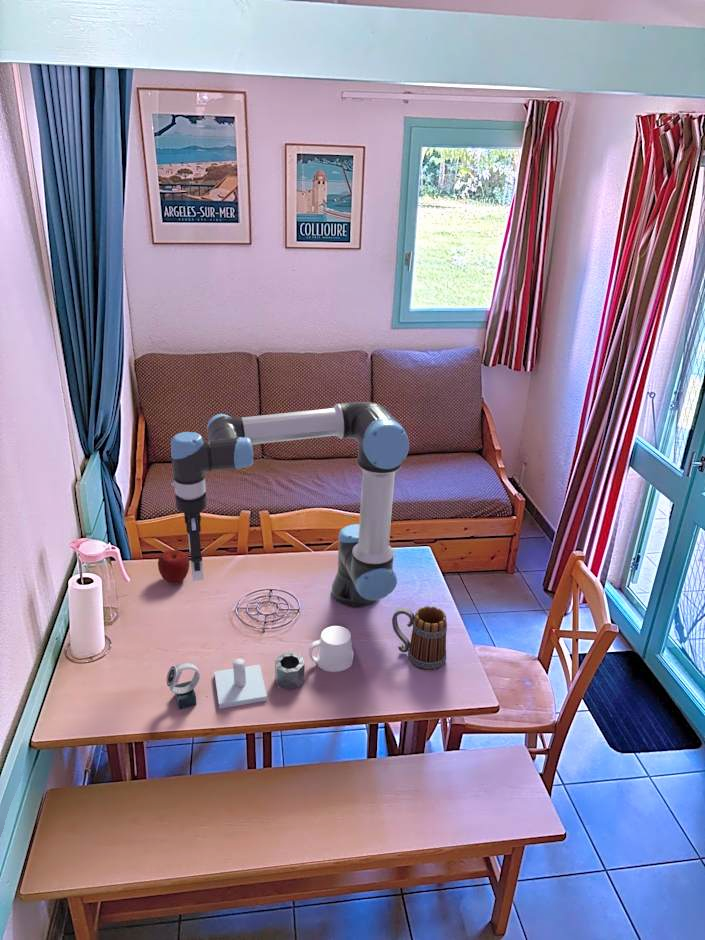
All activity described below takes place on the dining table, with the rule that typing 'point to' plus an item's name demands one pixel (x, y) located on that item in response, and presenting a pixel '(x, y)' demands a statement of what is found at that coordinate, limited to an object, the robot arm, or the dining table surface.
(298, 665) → the collar
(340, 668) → the mug
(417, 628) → the mug
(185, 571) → the apple
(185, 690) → the watch
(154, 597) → the dining table surface
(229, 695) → the post block
